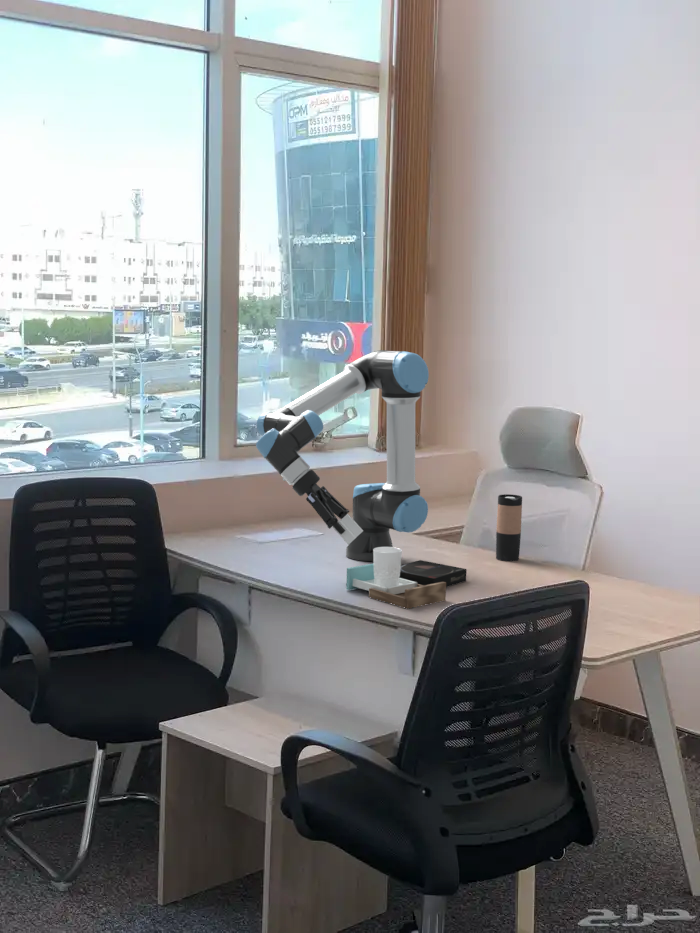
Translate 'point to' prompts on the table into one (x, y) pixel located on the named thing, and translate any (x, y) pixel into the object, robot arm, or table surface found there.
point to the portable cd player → (432, 573)
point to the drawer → (413, 595)
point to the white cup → (387, 566)
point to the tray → (365, 580)
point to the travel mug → (508, 527)
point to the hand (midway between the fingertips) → (355, 537)
